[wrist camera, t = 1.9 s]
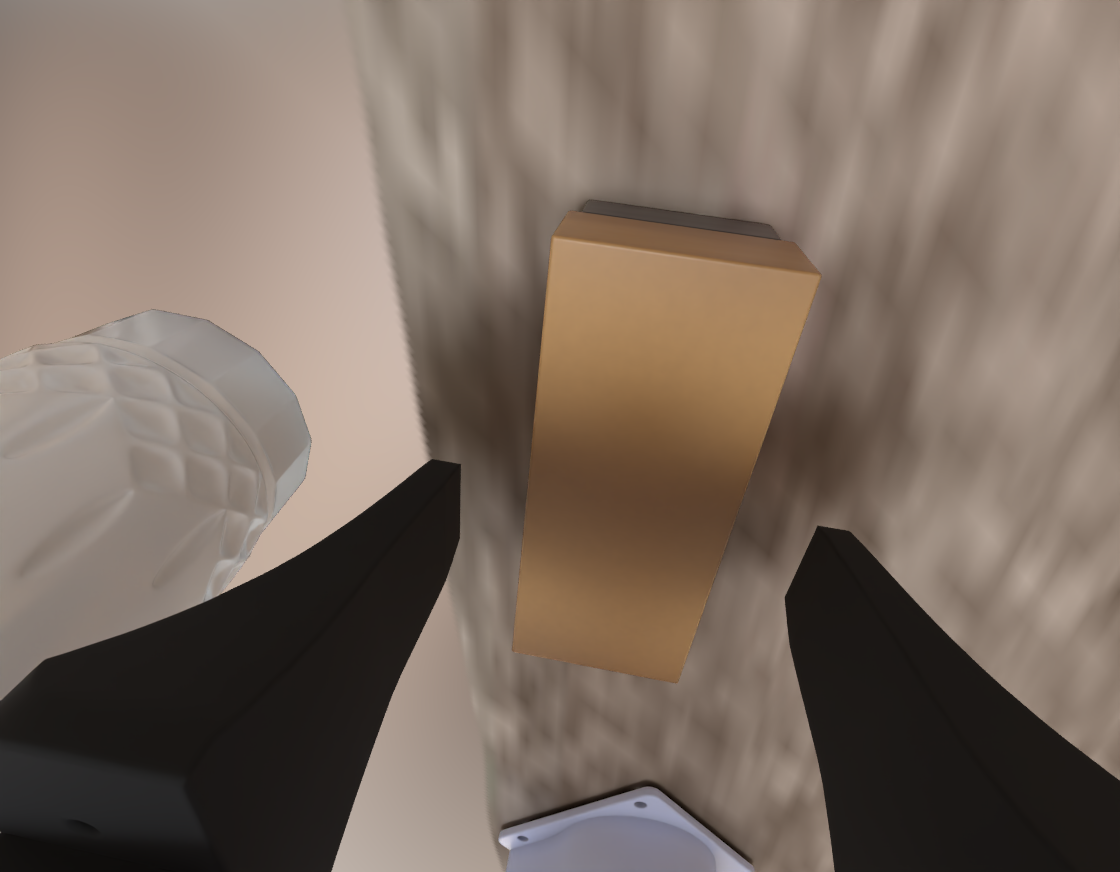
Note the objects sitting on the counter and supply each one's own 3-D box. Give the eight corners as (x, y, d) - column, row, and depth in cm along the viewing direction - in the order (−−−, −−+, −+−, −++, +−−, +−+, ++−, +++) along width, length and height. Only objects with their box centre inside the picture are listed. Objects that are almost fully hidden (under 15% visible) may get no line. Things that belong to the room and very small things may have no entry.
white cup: (384, 469, 18) (131, 830, 9) (218, 545, 20) (-88, 871, 12) (189, 232, 14) (-467, 449, 6) (26, 361, 17) (-568, 629, 9)
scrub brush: (674, 584, 18) (678, 684, 15) (535, 559, 19) (511, 652, 16) (783, 226, 12) (823, 274, 9) (576, 197, 13) (551, 234, 10)
